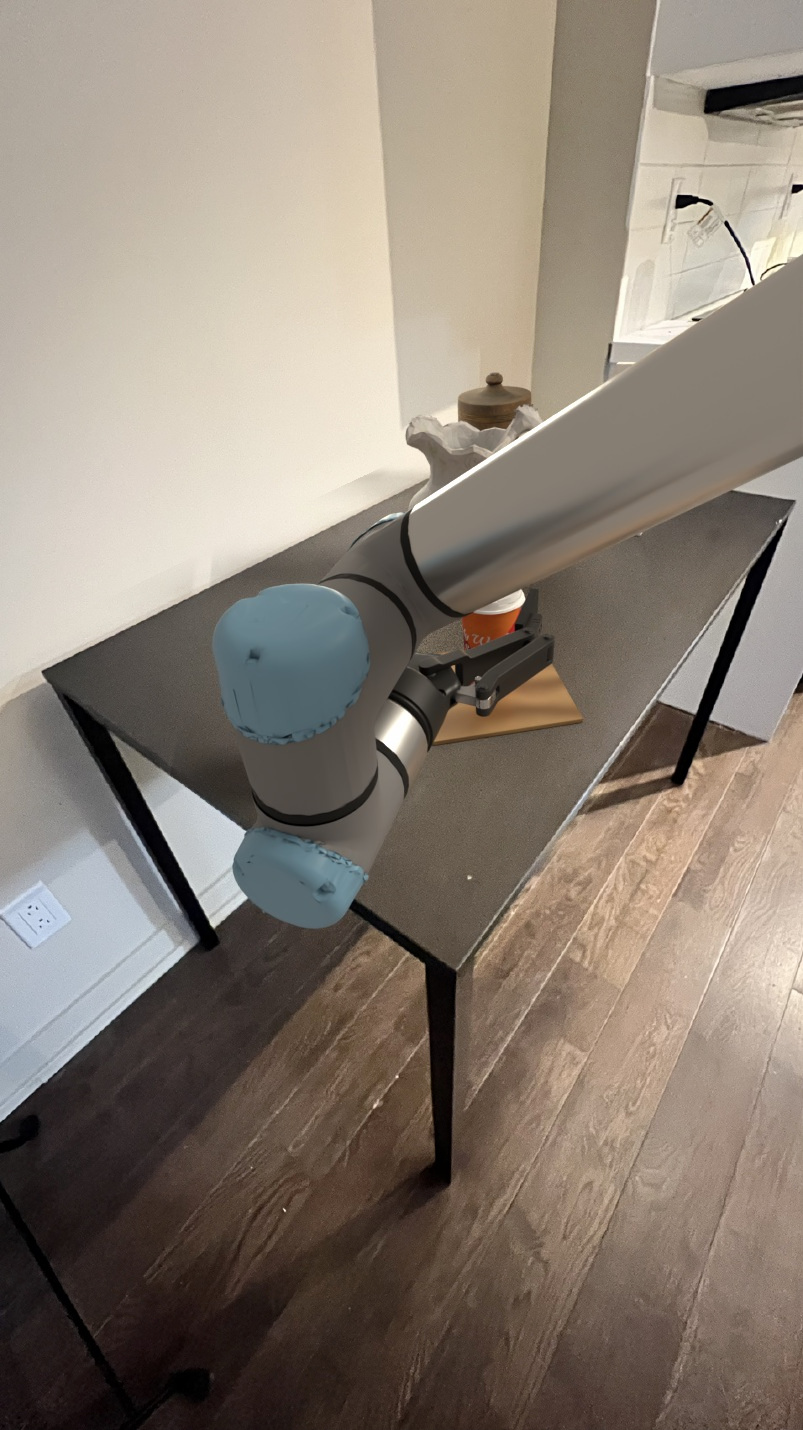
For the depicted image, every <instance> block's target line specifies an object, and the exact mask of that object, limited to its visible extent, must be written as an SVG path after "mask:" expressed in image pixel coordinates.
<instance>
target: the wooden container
mask: <svg viewBox="0 0 803 1430" xmlns="http://www.w3.org/2000/svg"><path fill="white" fill-rule="evenodd" d="M503 382H504V377H503V375H502V374H500V372H491V373H489V374H488V375H487V376H486V377H485V383H486V384H487V385H486V386H484V387H476V388H472V389H469V390H467V391H463V392H461V393H460V394H459V395H458V396H457V422H459V421H464V422H467V423H468V424H470V425H472V426H473V427H475V428H477V429H478V430H480V431H482V430H485V429H490V428H494V427H496V428H501V429H507V428H508V427H509V425H510V424H511V422H512V420H513V419H514V417H515V412H516V411H514V409H517V408H518V406H520V407H522V405H528V404H529V405H530V407H531V405H532V391H530V390H529V389H527V388H523V387H520V386H511V385H503ZM528 432H529V431H528ZM528 432H525V433H523V434H521V435H520V436H518V437H517V438H516V439H515V440H514V441H516V440H517V439H519V438H520V437H522V436H523V435H525V434H526V433H528ZM514 441H513V442H514Z"/></svg>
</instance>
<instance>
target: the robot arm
mask: <svg viewBox="0 0 803 1430" xmlns="http://www.w3.org/2000/svg"><path fill="white" fill-rule="evenodd" d="M635 362H636V363H634V364H632V365H631V366H629V367H628V368H626V369H625V370H623V371H622V372H620V373H619V374H617V375H616V376H614V377H612V378H611V379H609V380H608V379H607V380H608V381H607V380H606V381H605V382H603V383H602V384H600V385H598V386H597V387H595V388H594V389H592V390H590V391H589V392H588V393H586V394H584V395H583V396H582V397H580V398H578V399H577V400H576V401H574V402H572V403H571V404H569V405H568V406H566V407H564V408H563V409H562V410H560V411H559V412H557V413H556V414H554V415H552V416H551V417H549V418H548V419H546V420H545V421H543V423H542V424H540V425H539V426H537V427H536V428H534V429H532V430H531V431H529V432H528V433H526V434H525V435H523V436H522V437H520V438H519V439H517V440H516V441H514V442H512V443H511V444H509V445H508V446H506V447H505V448H503V449H502V450H500V451H499V452H497V453H496V454H494V455H492V456H491V457H489V458H488V459H486V460H485V461H483V462H482V463H480V464H479V465H477V466H476V467H474V468H472V469H471V470H469V471H468V472H466V473H465V474H463V475H462V476H460V477H459V478H457V479H456V480H454V481H452V482H451V483H449V484H448V485H446V486H445V487H443V488H442V489H440V490H439V491H437V492H435V493H434V494H432V495H431V496H429V497H428V498H426V499H425V500H423V501H422V502H420V503H419V504H417V505H415V507H414V508H413V509H411V510H409V511H408V510H407V511H401V512H394V513H389V514H388V515H386V516H384V517H382V518H380V519H379V520H378V521H377V522H375V523H373V524H372V525H371V526H369V527H368V528H366V530H364V531H363V532H362V533H360V534H359V535H358V536H357V537H356V538H355V539H354V540H353V541H352V543H351V544H350V547H349V548H348V549H347V550H346V553H344V555H343V556H342V557H341V558H340V559H339V560H338V562H336V564H334V566H333V567H332V568H331V569H330V570H329V571H328V572H327V574H326V575H325V576H323V578H322V579H321V580H320V581H319V582H318V583H317V584H312V583H287V584H280V585H275V586H271V587H266V588H263V589H261V590H260V591H259V592H258V594H257V595H256V596H253V597H245V598H241V599H239V600H238V601H236V602H235V603H233V604H232V605H231V606H230V607H229V608H227V610H225V611H224V613H223V614H222V615H221V617H220V618H219V620H218V621H217V622H216V625H215V628H214V631H213V635H212V639H211V640H212V641H211V643H212V645H211V647H212V653H213V659H214V662H215V666H216V670H217V674H218V675H217V676H218V677H217V678H218V682H219V689H220V692H221V694H220V702H221V705H222V707H223V710H224V713H225V715H226V717H227V719H228V720H229V722H230V725H231V728H232V731H233V734H234V735H233V736H234V737H235V741H236V744H237V747H238V750H239V754H240V756H241V760H242V763H243V767H244V769H245V772H246V775H247V776H246V777H247V778H248V782H249V785H250V794H251V798H252V802H253V805H254V808H255V811H256V815H257V816H256V821H255V823H254V824H253V825H252V826H251V828H249V829H247V830H246V831H245V832H244V834H243V835H244V836H243V839H242V841H241V843H240V845H239V846H238V848H237V851H236V852H235V854H234V857H233V863H232V866H231V867H232V868H231V869H232V875H233V877H234V880H235V882H236V884H237V886H238V888H239V889H240V890H241V891H242V893H243V894H244V895H245V897H247V899H249V900H250V902H252V904H254V905H255V906H256V907H258V908H259V909H260V910H262V911H263V912H264V913H266V914H268V915H269V916H272V917H273V918H275V919H277V920H279V921H281V922H284V923H287V924H290V925H292V926H295V927H298V928H303V929H316V930H317V929H324V928H325V929H326V928H327V927H329V928H330V927H331V926H333V925H335V924H336V923H338V922H339V921H341V920H342V919H343V917H344V916H345V915H346V913H347V912H348V910H349V909H350V907H351V905H352V903H353V901H354V900H355V898H356V896H357V895H358V893H359V891H360V890H361V888H362V886H363V885H365V884H366V882H367V881H368V880H369V877H370V875H369V873H370V871H371V868H372V866H373V865H374V862H375V860H376V858H377V856H378V854H379V853H380V850H381V848H382V846H383V844H384V842H385V840H386V838H387V836H388V834H389V832H390V829H391V828H392V827H393V824H394V821H395V819H396V818H397V815H398V813H399V812H400V810H401V807H402V806H403V803H404V801H405V799H406V797H407V795H408V793H409V792H410V789H411V788H412V786H413V783H414V782H415V780H416V779H417V776H418V774H419V772H420V769H421V767H422V766H423V763H424V762H425V760H426V757H427V754H428V753H429V751H430V750H431V748H432V747H433V742H434V740H435V738H436V736H437V734H438V732H439V730H440V728H441V726H442V724H443V722H444V720H445V717H446V715H447V712H448V711H449V710H450V709H451V708H452V707H454V706H455V705H457V704H458V703H463V704H467V705H471V706H475V707H476V714H477V715H478V716H481V717H486V716H489V715H490V714H491V712H492V711H493V709H494V708H495V706H496V704H497V703H498V701H500V700H501V699H502V698H504V697H505V696H507V695H508V694H510V693H511V692H512V691H514V690H515V689H517V688H518V687H519V686H521V685H522V684H524V683H525V682H527V681H528V680H529V679H531V678H532V677H534V676H535V675H536V674H538V673H539V672H541V671H542V670H544V669H545V668H546V667H548V666H549V665H551V664H552V665H553V663H554V654H555V640H556V637H555V635H554V634H552V633H542V631H543V619H544V618H543V615H542V613H539V612H538V611H539V597H540V596H539V593H540V589H539V588H535V587H534V588H533V587H530V586H532V585H533V584H535V583H538V582H540V581H542V580H544V579H546V578H549V577H550V576H553V575H555V574H556V573H560V572H561V571H563V570H565V569H567V568H570V567H572V566H574V565H576V564H579V563H580V562H583V561H584V560H587V559H589V558H591V557H593V556H595V555H597V554H600V553H601V552H603V551H606V550H608V549H610V548H612V547H615V546H616V545H618V544H621V543H623V542H625V541H627V540H630V539H631V538H633V537H635V536H637V534H640V533H642V534H643V533H644V532H646V531H648V530H650V529H652V528H655V527H656V526H659V525H660V524H661V525H662V524H663V523H665V522H667V521H669V520H671V519H674V518H675V517H678V516H680V515H682V514H684V513H687V512H689V511H690V510H693V509H695V508H697V507H699V506H701V505H704V504H705V503H708V502H710V501H712V500H714V499H716V498H718V497H721V496H722V495H724V494H727V493H728V492H731V491H732V490H734V489H737V488H739V487H741V486H744V485H746V484H748V483H750V482H752V481H755V480H756V479H758V478H760V477H763V476H765V475H767V474H769V473H771V472H773V471H775V470H778V469H780V468H782V467H785V466H786V465H788V464H790V463H792V462H795V461H797V460H799V459H801V458H803V253H802V254H800V255H799V256H797V257H796V258H794V259H793V260H791V261H789V262H788V263H786V264H785V265H783V266H782V267H780V268H779V269H777V270H776V271H774V272H773V273H770V274H769V275H768V276H766V277H765V278H763V279H762V280H760V281H759V282H757V283H756V284H754V285H752V286H751V287H749V288H747V289H746V290H745V291H743V292H742V293H740V294H739V295H737V296H736V297H734V298H733V299H731V300H729V301H728V302H726V303H725V304H723V305H722V306H720V307H719V308H717V309H715V310H714V311H712V312H710V313H709V314H708V315H707V316H705V317H703V318H702V319H700V320H699V321H696V323H694V324H693V325H691V326H689V327H688V328H686V329H685V330H683V331H681V332H680V333H679V334H677V335H676V336H674V337H672V338H671V339H669V340H668V341H667V342H665V343H663V344H662V345H659V346H658V347H657V348H655V349H654V350H652V351H651V352H649V353H648V354H646V355H645V356H643V357H642V358H640V359H639V360H636V361H635ZM527 587H530V589H529V591H528V593H527V596H526V597H525V602H524V603H523V605H522V606H521V609H520V613H519V615H518V617H517V620H516V622H515V629H514V632H512V633H510V634H507V635H505V636H502V637H499V638H497V639H494V640H492V641H489V642H487V643H484V644H482V645H479V646H477V647H474V648H472V649H469V650H467V651H462V650H461V649H462V648H456V649H454V650H450V651H451V652H448V651H447V652H448V653H446V654H443V655H441V654H436V653H437V652H436V653H435V652H421V651H418V649H419V647H420V645H422V643H423V641H424V639H426V637H428V636H429V635H430V634H433V633H434V632H436V631H438V630H440V629H443V628H444V627H447V626H449V625H451V624H454V623H455V622H457V621H459V620H462V618H463V617H466V616H468V615H470V614H472V613H473V612H474V611H476V610H478V609H481V608H483V607H485V606H487V605H489V604H491V603H493V602H495V601H497V600H500V599H502V598H504V597H506V596H508V595H510V594H512V593H514V592H517V591H519V590H524V589H526V588H527ZM454 665H455V672H454V671H453V669H452V667H451V666H454ZM473 681H475V682H474V683H472V682H473ZM471 683H472V684H471Z"/></svg>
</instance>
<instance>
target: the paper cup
mask: <svg viewBox="0 0 803 1430" xmlns="http://www.w3.org/2000/svg"><path fill="white" fill-rule="evenodd" d="M525 600H526V597H525V593H524V592H523V589H521V590H519V591H517V592H514V593H512V594H510V595H508V596H506V597H504V598H502V599H500V600H497V601H495V602H493V603H491V604H489V605H487V606H485V607H483V608H481V609H478V610H476V611H474V612H473V613H472V614H470V615H468V616H466V617H463V618H461V627H462V638H463V649H464V650H465V651H467V650H469V649H472V648H474V647H477V646H479V645H482V644H484V643H487V642H489V641H492V640H494V639H497V638H499V637H502V636H505V635H507V634H510V633H512V632H514V629H515V622H516V620H517V617H518V615H519V613H520V611H521V609H522V606H523V604H524V602H525ZM474 682H475V681H473V682H472V683H474ZM472 683H471V684H472Z"/></svg>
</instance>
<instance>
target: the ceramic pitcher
mask: <svg viewBox="0 0 803 1430" xmlns="http://www.w3.org/2000/svg"><path fill="white" fill-rule="evenodd" d="M538 410H539V408H536V407H534V403H531V407H530V405H529V404H528V405H522V407H520V406H518V408H517V409H514V411H516V412H515V417H514V419H513V420H512V422H511V424H510V425H509V427H508V428H507V429H501V428H496V427H494V428H490V429H485V430H482V431H480V430H478V429H477V428H475V427H473V426H472V425H470V424H468V423H467V422H464V421H459V422H458V421H457V422H456V421H455V422H453V421H452V422H449V423H446V424H444V425H443V424H442V423H441V422H440V421H439V420H438V418H437V417H435V416H432V415H429V416H425V415H423V414H418V415H416V416H415V417H412V418H411V419H410V420H408V424H409V425H408V426H407V428H405V435H404V436H405V441H406V445H407V446H409V447H411V448H414V449H417V450H418V451H419V452H421V453H422V454H423V455H424V457H425V459H426V461H427V463H428V464H429V473H430V474H429V479H428V481H427V482H426V484H425V485H424V486H422V487H421V488H420V489H419V490H418V491H417V492H416V493H415V494H414V495H413V496H412V498H411V499H410V500H409V504H408V508H407V512H408V511H409V510H411V509H413V508H414V507H415V505H417V504H419V503H420V502H422V501H423V500H425V499H426V498H428V497H429V496H431V495H432V494H434V493H435V492H437V491H439V490H440V489H442V488H443V487H445V486H446V485H448V484H449V483H451V482H452V481H454V480H456V479H457V478H459V477H460V476H462V475H463V474H465V473H466V472H468V471H469V470H471V469H472V468H474V467H476V466H477V465H479V464H480V463H482V462H483V461H485V460H486V459H488V458H489V457H491V456H492V455H494V454H496V453H497V452H499V451H500V450H502V449H503V448H505V447H506V446H508V445H509V444H511V443H512V442H513V441H514V440H515V439H516V438H517V437H518V436H520V435H521V434H523V433H525V432H528V431H531V430H532V429H534V428H536V427H537V426H539V425H540V424H542V423H543V422H544V421H543V420H542V419H541V416H540V414H539V411H538Z"/></svg>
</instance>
